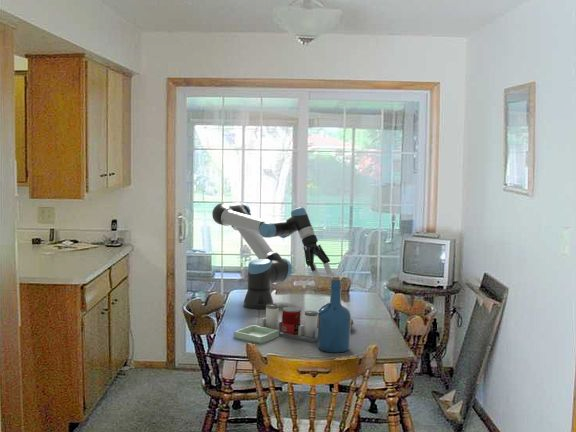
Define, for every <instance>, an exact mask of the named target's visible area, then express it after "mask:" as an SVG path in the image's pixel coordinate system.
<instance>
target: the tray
mask: <svg viewBox="0 0 576 432" xmlns="http://www.w3.org/2000/svg"><path fill="white" fill-rule="evenodd" d="M232 335H233V339H235V340H241V341H244V342H250V343H254V344H259V345H262V344H264V343H267V342H269V341H271V340H274V339H277V338H278V337H280V336H279V330H275V329H270V328H265V327H261V326H259V325H254V324H250V325H248V326H246V327H242V328H240V329H238V330H234V331H233V334H232Z"/></svg>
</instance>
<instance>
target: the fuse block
mask: <svg viewBox="0 0 576 432" xmlns="http://www.w3.org/2000/svg"><path fill="white" fill-rule="evenodd" d="M258 326H261V327H265V328H266V316H265V317H263V318H261V324H260V325H259V324H258ZM277 330H279V337H280V336H281V337H285V338H289V339H295V340H298V341H303V342H307V343H308V342H309V343H318V328H317V329H315V338H314V339H313V338H308V337H304V324H300V326H299V331H298V335H293V334H288V333H283V332H282V319H281V320H278V322H277Z"/></svg>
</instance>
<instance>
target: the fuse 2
mask: <svg viewBox="0 0 576 432" xmlns="http://www.w3.org/2000/svg"><path fill="white" fill-rule="evenodd" d="M317 320H318V311H317V310H306V311H304V320H303V321H304V335H303V337H308V338H313V339H314V338H315V329H317Z"/></svg>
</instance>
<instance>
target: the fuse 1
mask: <svg viewBox="0 0 576 432" xmlns="http://www.w3.org/2000/svg"><path fill="white" fill-rule="evenodd" d="M279 307H280V305H279V304H277V303H273V304H267V305H266V309H265V317H266V328H270V329H275V330H277V322H278V321H279V315H280V314H279V313H280V311H279Z"/></svg>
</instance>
